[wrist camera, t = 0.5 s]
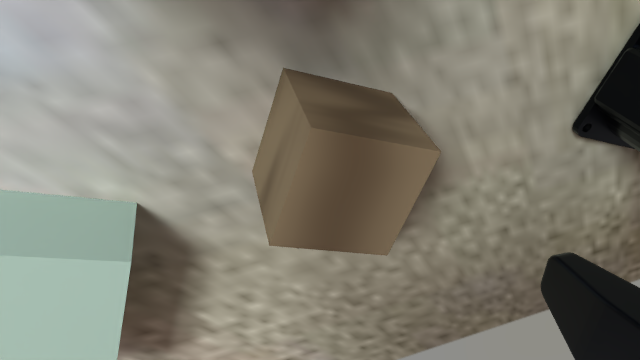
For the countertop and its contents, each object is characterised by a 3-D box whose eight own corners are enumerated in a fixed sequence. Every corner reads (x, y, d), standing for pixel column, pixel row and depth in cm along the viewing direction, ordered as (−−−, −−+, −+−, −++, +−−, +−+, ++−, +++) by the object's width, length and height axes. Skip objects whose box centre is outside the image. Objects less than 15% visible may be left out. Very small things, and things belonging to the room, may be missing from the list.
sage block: (137, 198, 21) (131, 262, 18) (120, 320, 25) (112, 389, 22) (-86, 176, 18) (-141, 248, 15) (-66, 318, 22) (-106, 398, 19)
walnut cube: (391, 92, 21) (441, 151, 17) (351, 184, 23) (387, 255, 19) (282, 67, 19) (311, 127, 15) (251, 170, 22) (269, 245, 18)
